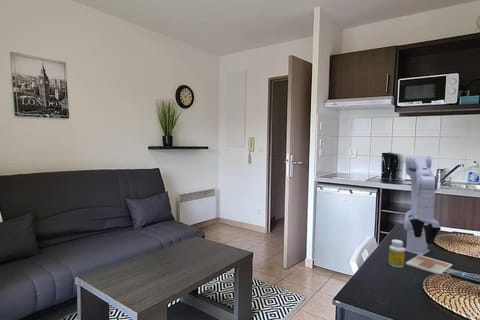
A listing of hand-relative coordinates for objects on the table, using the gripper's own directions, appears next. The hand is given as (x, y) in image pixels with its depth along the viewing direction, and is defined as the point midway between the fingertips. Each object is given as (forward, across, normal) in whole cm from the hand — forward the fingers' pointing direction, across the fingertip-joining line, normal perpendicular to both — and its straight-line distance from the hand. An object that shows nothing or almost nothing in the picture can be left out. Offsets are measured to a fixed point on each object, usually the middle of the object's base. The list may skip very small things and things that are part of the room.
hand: (423, 240), depth 111 cm
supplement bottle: (+11, 0, -10) cm, 15 cm away
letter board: (+10, -1, +4) cm, 11 cm away
